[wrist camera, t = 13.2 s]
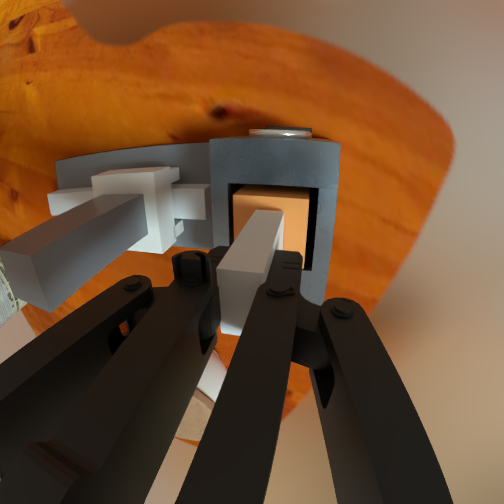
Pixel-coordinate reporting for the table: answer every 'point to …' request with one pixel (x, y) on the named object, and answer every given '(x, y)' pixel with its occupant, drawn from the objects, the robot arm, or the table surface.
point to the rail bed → (174, 155)
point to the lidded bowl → (203, 400)
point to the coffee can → (7, 298)
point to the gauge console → (279, 173)
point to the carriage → (93, 235)
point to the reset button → (275, 199)
